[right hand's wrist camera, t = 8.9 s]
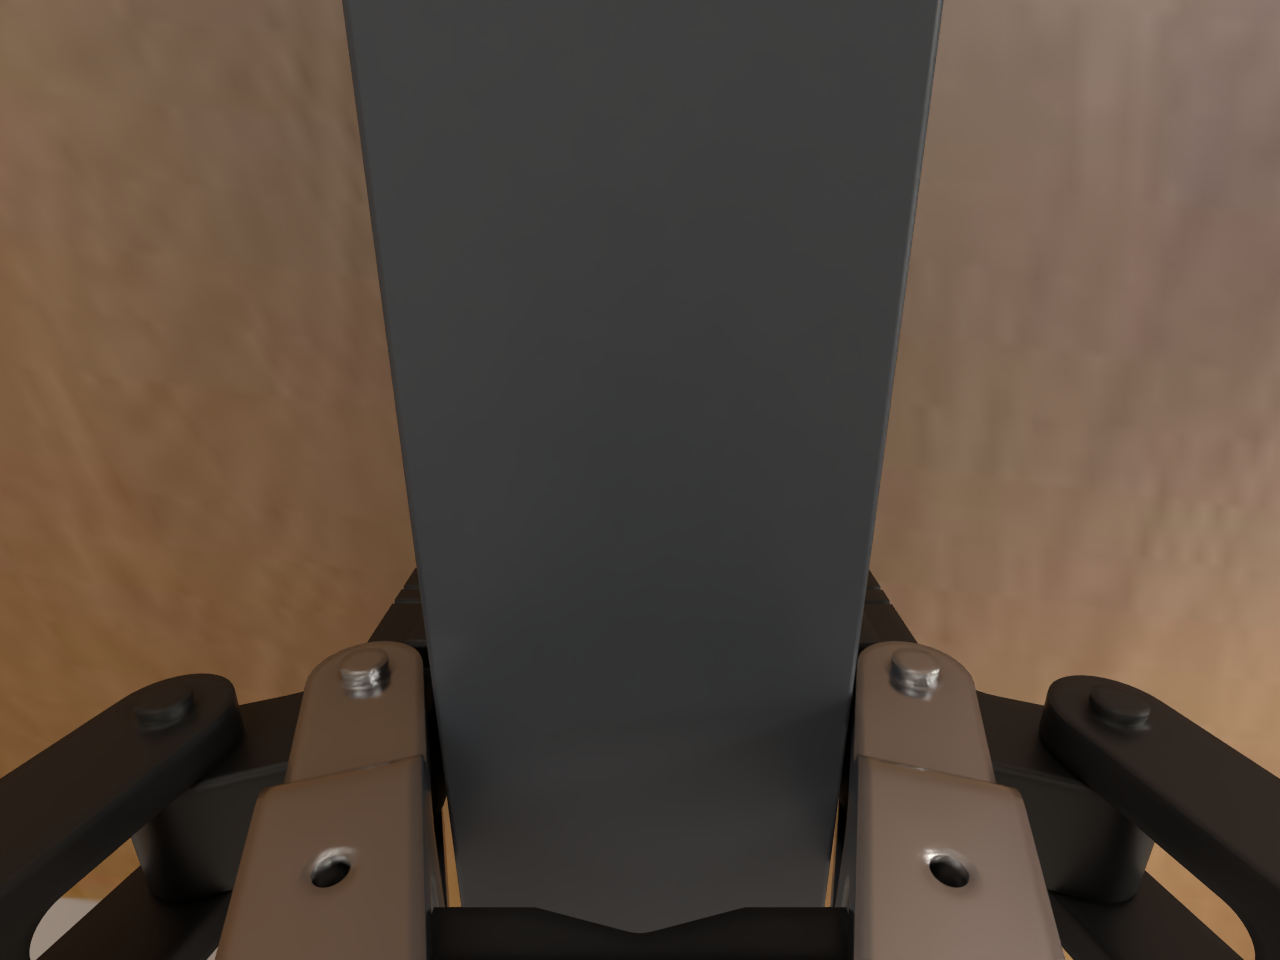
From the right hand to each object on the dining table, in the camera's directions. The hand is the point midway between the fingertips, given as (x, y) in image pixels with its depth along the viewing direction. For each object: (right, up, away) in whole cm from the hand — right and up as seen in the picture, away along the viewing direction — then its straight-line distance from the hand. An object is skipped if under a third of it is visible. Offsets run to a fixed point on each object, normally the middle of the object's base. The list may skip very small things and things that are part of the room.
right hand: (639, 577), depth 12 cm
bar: (0, +26, -6) cm, 26 cm away
